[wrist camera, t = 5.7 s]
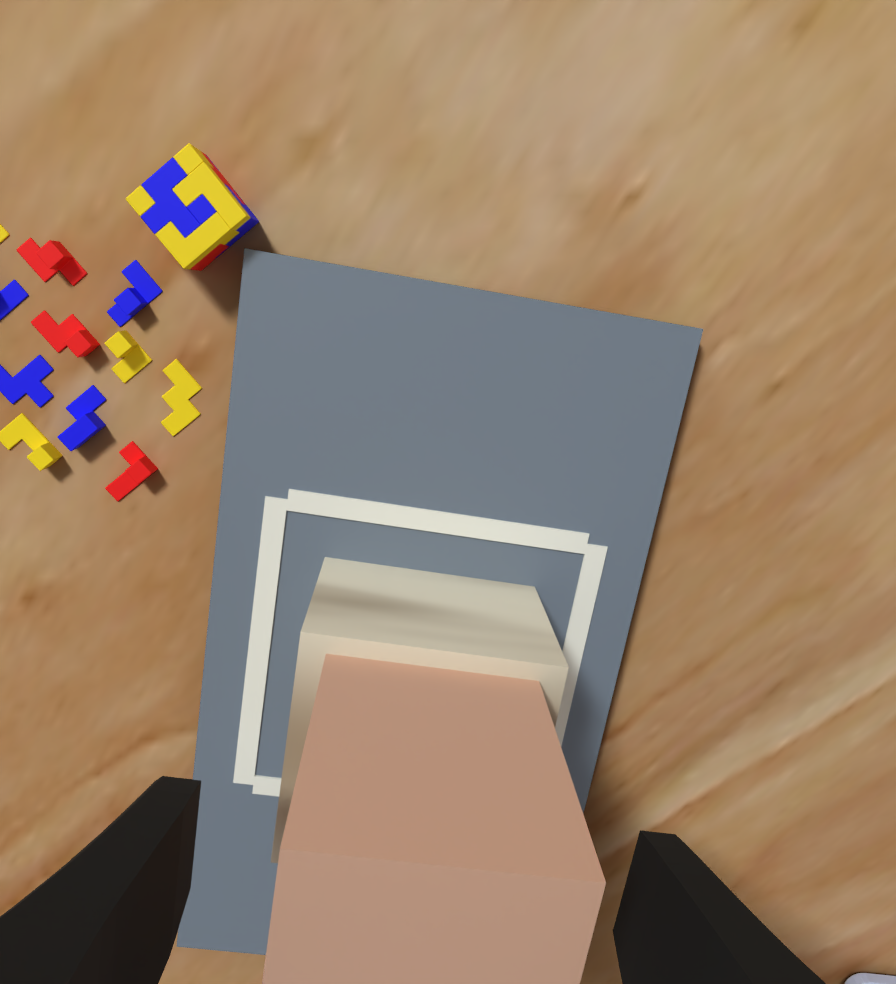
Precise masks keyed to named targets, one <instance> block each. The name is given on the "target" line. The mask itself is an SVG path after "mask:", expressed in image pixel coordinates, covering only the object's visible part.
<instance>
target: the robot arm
mask: <svg viewBox="0 0 896 984" xmlns="http://www.w3.org/2000/svg"><path fill="white" fill-rule="evenodd" d="M200 790H201V780H192V779H183V778H174V777H166V776H162V777H160V778H159V779H158V780H156V781H155V782H154V783H153V784H152V785H151V786H150V787H149V788H148V789H147V790H146V791H145V792H144V793H143V794H142V795H141V796H140V797H138V798H137V799H136V800H135V801H134V802H133V803H132V804H131V805H130V806H129V807H128V808H127V809H126V810H125V811H124V812H123V813H122V814H121V815H120V816H119V817H118V818H117V819H116V820H115V821H114V822H112V823H111V824H110V825H109V826H108V827H107V828H106V829H105V830H104V831H103V832H102V833H101V834H99V835H98V836H97V837H96V838H95V839H94V840H93V841H92V842H90V843H89V844H88V845H87V846H86V847H85V848H84V849H83V850H81V851H80V852H79V853H78V854H77V855H76V856H75V857H74V858H72V859H71V860H70V861H69V862H68V863H67V864H66V865H64V866H63V867H62V868H61V869H60V870H58V871H57V872H56V873H55V874H54V875H52V876H51V877H50V878H49V879H47V880H46V881H45V882H44V883H42V884H41V885H40V886H39V887H37V888H36V889H35V890H34V891H32V892H31V893H30V894H29V895H27V896H26V897H25V898H24V899H22V900H21V901H20V902H19V903H17V904H16V905H15V906H14V907H12V908H11V909H10V910H8V911H7V912H6V913H4V914H3V915H2V916H0V984H158V982H159V980H160V978H161V975H162V973H163V971H164V968H165V966H166V963H167V961H168V959H169V956H170V953H171V950H172V947H173V944H174V941H175V938H176V934H177V931H178V928H179V925H180V922H181V918H182V915H183V912H184V908H185V905H186V902H187V899H188V895H189V892H190V889H191V880H192V870H193V860H194V850H195V840H196V830H197V820H198V810H199V800H200ZM613 934H614V940H615V945H616V951H617V956H618V962H619V968H620V972H621V977H622V982H623V984H826V983H824V982H823V981H822V980H821V979H820V978H819V977H818V976H817V975H816V974H815V973H814V972H813V971H811V970H810V969H809V968H808V967H807V966H806V965H805V964H804V963H803V962H802V961H801V960H800V959H798V958H797V957H796V956H795V955H794V954H793V953H792V952H791V951H790V950H789V949H788V948H787V947H786V946H785V945H784V944H783V943H782V942H781V941H780V940H779V939H778V938H777V937H776V936H775V935H774V934H773V933H772V932H771V931H770V930H769V929H768V928H767V927H766V926H765V925H764V924H763V923H762V922H761V921H760V920H759V919H758V918H757V917H756V916H755V915H754V914H753V913H752V912H751V911H750V910H749V909H748V908H747V907H746V906H745V905H744V904H743V903H742V902H741V901H740V900H739V899H738V898H737V897H736V896H735V895H734V894H733V893H732V892H731V891H730V889H729V888H728V887H727V886H726V885H725V884H724V883H723V882H722V881H721V880H720V879H719V878H718V877H717V876H716V875H715V874H714V873H713V872H712V871H711V870H710V869H709V868H708V867H707V866H706V864H705V863H704V862H703V861H702V860H701V859H700V858H699V857H698V856H697V855H696V854H695V853H694V852H693V851H692V850H691V849H690V848H689V847H688V846H687V845H686V844H685V843H684V842H683V841H682V840H681V839H680V838H679V837H677V836H676V835H675V834H666V833H657V832H649V831H640V833H639V837H638V840H637V844H636V848H635V851H634V855H633V859H632V862H631V866H630V870H629V874H628V877H627V881H626V885H625V888H624V892H623V896H622V899H621V903H620V907H619V910H618V914H617V918H616V922H615V925H614V929H613ZM844 984H896V976H890V975H880V974H870V973H857V974H854V975H852V976H851V977H849V978H848V979H847V980H846V982H845V983H844Z"/></svg>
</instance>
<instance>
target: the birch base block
mask: <svg viewBox="0 0 896 984" xmlns="http://www.w3.org/2000/svg"><path fill="white" fill-rule="evenodd" d="M326 654H334V655H342V656H349V657H357V658H365V659H373V660H380V661H388V662H396V663H404V664H411V665H419V666H427V667H435V668H442V669H450V670H458V671H466V672H473V673H481V674H489V675H497V676H504V677H512V678H520V679H528V680H535V681H539V682H540V685H541V688H542V691H543V694H544V697H545V700H546V703H547V706H548V709H549V712H550V715H551V718H552V721H553V724H554V727H555V726H556V721H557V717H558V713H559V708H560V704H561V700H562V695H563V691H564V686H565V682H566V678H567V673H568V669H569V666H568V664H567V662H566V659H565V657H564V655H563V652H562V650H561V648H560V645H559V643H558V640H557V638H556V636H555V633H554V631H553V629H552V626H551V624H550V621H549V619H548V617H547V614H546V612H545V610H544V607H543V605H542V602H541V600H540V598H539V595H538V593H537V591H536V588H535V587H534V586H527V585H520V584H513V583H506V582H498V581H491V580H484V579H477V578H470V577H463V576H456V575H449V574H442V573H435V572H428V571H421V570H414V569H407V568H400V567H393V566H386V565H378V564H371V563H364V562H357V561H350V560H343V559H336V558H329V557H325V558H324V561H323V564H322V568H321V571H320V574H319V577H318V580H317V583H316V586H315V589H314V592H313V595H312V598H311V601H310V604H309V607H308V611H307V614H306V617H305V620H304V623H303V626H302V629H301V633H300V640H299V648H298V656H297V663H296V671H295V679H294V686H293V694H292V702H291V709H290V717H289V725H288V732H287V740H286V748H285V755H284V763H283V771H282V778H281V786H280V794H279V801H278V809H277V817H276V824H275V832H274V840H273V847H272V855H271V863H278V859H279V852H280V846H281V842H282V838H283V833H284V829H285V825H286V821H287V816H288V812H289V808H290V804H291V799H292V795H293V791H294V787H295V782H296V778H297V774H298V770H299V765H300V761H301V757H302V753H303V748H304V744H305V740H306V736H307V731H308V727H309V723H310V719H311V714H312V710H313V706H314V702H315V697H316V693H317V689H318V685H319V681H320V676H321V672H322V668H323V664H324V659H325V655H326Z"/></svg>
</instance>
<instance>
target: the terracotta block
mask: <svg viewBox="0 0 896 984" xmlns="http://www.w3.org/2000/svg"><path fill="white" fill-rule="evenodd" d="M605 885H606V881H605V878H604V875H603V872H602V869H601V866H600V863H599V860H598V857H597V854H596V851H595V848H594V845H593V842H592V839H591V836H590V833H589V830H588V827H587V824H586V821H585V818H584V815H583V812H582V809H581V806H580V803H579V800H578V797H577V794H576V791H575V788H574V785H573V782H572V779H571V775H570V772H569V769H568V766H567V763H566V760H565V757H564V754H563V751H562V748H561V745H560V742H559V739H558V736H557V733H556V730H555V727H554V724H553V721H552V718H551V715H550V712H549V709H548V706H547V703H546V700H545V697H544V694H543V691H542V688H541V685H540V682H539V681H535V680H528V679H520V678H512V677H504V676H497V675H489V674H481V673H473V672H466V671H458V670H450V669H442V668H435V667H427V666H419V665H411V664H404V663H396V662H388V661H380V660H373V659H365V658H357V657H349V656H342V655H334V654H326V655H325V659H324V664H323V668H322V672H321V676H320V681H319V685H318V689H317V693H316V697H315V702H314V706H313V710H312V714H311V719H310V723H309V727H308V731H307V736H306V740H305V744H304V748H303V753H302V757H301V761H300V765H299V770H298V774H297V778H296V782H295V787H294V791H293V795H292V799H291V804H290V808H289V812H288V816H287V821H286V825H285V829H284V833H283V838H282V842H281V846H280V852H279V859H278V867H277V874H276V882H275V890H274V897H273V905H272V912H271V920H270V928H269V935H268V943H267V950H266V958H265V966H264V973H263V981H262V984H580V981H581V977H582V973H583V970H584V966H585V962H586V958H587V954H588V950H589V947H590V943H591V939H592V935H593V931H594V927H595V924H596V920H597V916H598V912H599V908H600V904H601V901H602V897H603V893H604V889H605Z"/></svg>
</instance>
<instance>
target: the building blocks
mask: <svg viewBox="0 0 896 984" xmlns="http://www.w3.org/2000/svg"><path fill="white" fill-rule="evenodd" d="M126 200H127V202H128V203H129V204H130V205H131V206H132V208H133V209H134V210H135V211H136V212H137V213H138V215H139V216H141V218H142V219H143V221H144V222H145V223H146V224H147V225H148V227H149V228H150V229H151V230H152V231H153V233H154V234H155V235H156V236H157V237H158V239H159V240H160V241H161V242H162V243H163V245H164V246H165V247H166V248H167V249H168V251H169V252H170V253H171V254H172V255H173V257H174V258H175V259H176V260H177V261H178V263H179V264H180V265H181V266H182V267H183V269H190V270H199V271H202V270H203V269H204V268H205V267H206V266H207V265H209V264H210V263H211V262H212V261H213V260H215V259H216V258H217V257H218V256H219V255H220V254H222V253H223V252H224V251H225V250H226V249H228V248H229V247H230V246H231V245H232V244H233V243H235V242H236V241H237V240H238V239H239V238H241V237H242V236H243V235H244V234H245V233H246V232H248V231H249V230H250V229H251V228H252V227H254V226H255V225H256V224H257V223H258V222H259V221H258V219H257V218H256V217H255V216H254V214H253V213H252V212H251V211H250V209H249V208H248V207H247V206H246V204H245V203H244V202H243V201H242V199H241V198H240V197H239V196H238V194H237V193H236V192H235V190H234V189H233V188H232V187H231V185H230V184H229V183H228V182H227V180H226V179H225V178H224V177H223V175H222V174H221V173H220V172H219V170H218V169H217V168H216V167H215V165H214V164H213V163H212V162H211V160H210V159H209V158H208V156H207V155H205V154H204V153H202V152H201V151H200V150H198V149H197V148H195V147H194V146H192V145H191V144H187V145H186V146H185V147H184V148H183V149H182V150H181V151H179V152H178V153H177V154H176V155H175V156H174V157H173V158H171V159H170V160H169V161H168V162H167V163H166V164H164V165H163V166H162V167H161V168H160V169H159V170H158V171H156V172H155V173H154V174H153V175H152V176H151V177H150V178H148V179H147V180H146V181H145V182H144V183H143V184H142V186H141V185H140V186H139V187H138V188H137V189H136V190H135V191H134V192H132V193H131V194H130V195H129V196H128V197H127V198H126ZM8 236H9V233H8V232H7V231H6V230H5V229H4V228H3V226H2V225H1V224H0V243H1V242H2V241H3V240H5V239H6V238H7V237H8ZM17 251H18V253H19V254H20V255H21V256H22V257H23V258H24V259H25V260H26V262H27V263H28V264H29V265H30V266H31V267H32V268H33V269H34V271H35V272H36V273H37V274H38V275H39V276H40V277H41V278H42V280H43V281H44V282H46V281H47V280H48V279H50V278H51V277H52V276H53V275H54V274H55V273H57V272H58V271H59V270H60V272H61V273H62V274H63V275H64V276H65V277H66V278H67V280H68V281H69V282H70V283H71V284H72V285H73V286H74V285H75V284H76V283H77V282H79V281H80V280H81V279H82V278H83V277H84V276H85V275H87V272H86V271H85V270H84V269H83V268H82V267H81V266H80V264H79V263H78V262H77V261H76V260H75V259H74V258H73V256H72V255H71V254H70V253H69V252H68V251H67V249H66V248H65V247H64V246H63V245H62V244H61V243H60V242H58V241H51V240H49V241H48V242H47V243H46V244H45V245H44V246H43V247H41V248H40V247H39V246H38V245H37V244H36V243H35V242H34V241H33V239H32V238H29V239H28V240H27V241H26V242H25V243H24V244H22V245H21V246H20V247H19V248H18V249H17ZM122 273H123V274H124V276H125V277H126V278H127V279H128V280H129V281H130V283H131V284H132V285H133V286H134V288H127V289H126V290H125V291H123V292H122V293H121V294H120V295H119V296H117V297H116V298H115V299H114V301H115V302H116V304H115V305H114V306H113V307H112V308H111V309H109V310H108V311H107V313H108V314H109V315H110V316H111V317H112V319H113V320H114V321H115V322H116V323H117V324H118V325H119V327H121V326H123V325H124V324H125V323H126V322H127V321H128V320H130V319H131V318H132V317H133V316H134V315H136V314H137V313H138V312H139V311H140V310H141V309H143V308H144V307H145V306H146V305H147V304H148V303H150V302H151V301H152V300H153V299H154V298H156V297H157V296H158V295H159V294H160V293H161V292H162V290H161V289H160V287H159V286H158V285H157V284H156V283H155V281H154V280H153V279H152V278H151V277H150V276H149V274H148V273H147V272H146V271H145V270H144V269H143V267H142V266H141V265H140V264H139V263H138V262H137V260H135V261H133V262H132V263H131V264H130V265H129V266H128V267H126V268H125V269H124V270H123V271H122ZM28 296H29V295H28V293H27V292H26V291H25V290H24V289H23V288H22V287H21V286H20V285H19V283H18V282H17V281H16V280H13V281H12V282H11V283H10V284H8V285H7V286H6V287H5V288H4V289H3V290H2V291H0V320H1V319H2V318H4V317H5V316H6V315H7V314H8V313H9V312H10V311H12V310H13V309H14V308H15V307H16V306H17V305H18V304H20V303H21V302H22V301H23V300H24V299H25V298H27V297H28ZM31 323H32V324H33V326H34V327H35V328H36V329H37V330H38V331H39V332H40V333H41V334H42V336H43V337H44V338H45V339H46V340H47V341H48V342H49V343H50V344H51V345H52V347H53V348H54V349H55V350H56V351H57V352H58V353H59V352H60V351H62V350H63V349H64V348H65V347H66V346H68V347H69V349H70V350H71V351H72V352H73V353H74V354H75V355H76V356H77V357H83V356H87V355H88V354H89V353H91V352H92V351H93V350H94V349H95V348H97V347H98V346H99V345H100V344H99V343H98V342H97V340H96V339H95V338H94V337H93V336H92V335H91V334H90V333H89V331H88V330H87V329H86V328H85V327H84V326H83V325H82V324H81V322H80V321H79V320H78V319H77V318H76V317H75V316H74V315H73V314H72V315H70V316H69V317H68V318H67V319H66V320H65V321H63V322H62V323H61V324H60V325H58V324H57V323H56V322H55V321H54V320H53V319H52V318H51V316H50V315H49V314H48V313H47V312H46V311H43V312H42V313H41V314H40V315H38V316H37V317H36V318H35V319H34V320H33V321H31ZM105 345H106V346H107V347H108V348H109V349H110V350H111V351H112V352H113V354H114V355H115V356H116V357H117V358H122V357H124V358H123V359H122V360H121V361H120V362H119V363H117V364H116V365H115V366H114V367H113V368H111V369H112V370H113V371H114V373H115V374H116V375H117V376H118V377H119V378H120V379H121V380H122V381H123V383H126V382H127V381H128V380H129V379H131V378H132V377H133V376H134V375H135V374H137V373H138V372H139V371H140V370H141V369H143V368H144V367H145V366H146V365H147V364H149V363H150V362H151V361H152V359H151V358H150V357H149V356H148V355H147V354H146V352H145V351H144V350H143V349H142V348H141V347H140V346H139V344H138V343H137V342H136V341H135V340H134V339H133V338H132V336H131V335H130V334H129V333H128V332H127V331H126V330H125V331H118V332H117V333H116V334H114V335H113V336H112V337H111V338H110V339H108V340H107V341H106V342H105ZM53 370H54V369H53V368H52V367H51V366H50V365H49V364H48V363H47V361H46V360H45V359H44V358H43V357H42V356H41V355H39V356H37V357H36V358H35V359H34V360H33V361H32V362H30V363H29V364H28V365H27V366H26V367H25V368H23V369H22V370H21V371H20V372H19V373H18V374H16V375H15V376H14V377H12V376H11V375H10V374H9V373H8V372H7V371H6V370H5V369H4V368H3V367H2V366H1V365H0V392H1V393H2V394H3V395H4V396H5V397H6V398H7V399H8V400H9V401H10V402H11V403H12V404H14V403H15V402H16V401H18V400H19V399H20V398H21V397H22V396H23V395H25V394H26V393H27V394H28V395H29V396H30V398H31V399H32V400H33V401H34V402H35V403H36V404H37V405H38V406H39V407H41V406H43V405H44V404H45V403H46V402H47V401H49V400H50V399H51V398H52V397H53V396H54V395H53V394H52V393H51V392H50V391H49V390H48V389H47V388H46V387H45V386H44V385H43V384H42V382H41V380H42V379H43V378H45V377H46V376H47V375H48V374H49V373H51V372H52V371H53ZM163 372H164V373H165V374H166V375H167V376H168V377H169V379H170V380H171V381H172V382H173V383H174V384H175V386H174V387H172V388H171V389H170V390H169V391H168V392H166V393H165V394H164V395H163V396H162V398H163V399H164V400H165V401H166V402H167V403H168V405H169V406H170V407H171V408H172V409H173V410H174V412H173V413H171V414H170V415H169V416H168V417H166V418H165V419H164V420H163V421H162V422H161V423H162V425H163V426H164V427H165V428H166V429H167V430H168V431H169V432H170V434H171V435H172V436H175V435H176V434H177V433H178V432H180V431H181V430H182V429H183V428H184V427H186V426H187V425H188V424H189V423H191V422H192V421H193V420H194V419H196V418H197V417H198V416H199V415H200V412H199V411H198V410H197V409H196V408H195V407H194V406H193V404H192V403H191V402H190V401H189V399H190V398H191V397H192V396H193V395H195V394H196V393H197V392H198V391H200V390H201V389H202V387H201V386H200V385H199V384H198V383H197V382H196V381H195V379H194V378H193V377H192V376H191V375H190V374H189V372H188V371H187V370H186V369H185V368H184V367H183V366H182V364H181V363H180V362H179V361H178V360H177V359H176V360H174V361H173V362H172V363H171V364H170V365H168V366H167V367H166V368H165V369H163ZM104 401H106V398H105V397H104V396H103V395H102V394H101V393H100V392H99V391H98V389H97V388H96V387H95V386H94V385H92V386H91V387H90V388H89V389H88V390H86V391H85V392H84V393H83V394H82V395H80V396H79V397H78V398H77V399H76V400H74V401H73V402H72V403H71V404H70V405H68V406H67V407H66V409H67V410H68V411H69V412H70V413H71V414H72V415H73V416H74V418H75V419H76V420H77V421H76V422H75V423H73V424H72V425H71V426H70V427H69V428H67V429H66V430H65V431H64V432H63V433H61V434H60V435H59V436H58V438H59V439H60V441H61V442H62V443H63V444H64V445H65V446H66V447H67V448H68V449H69V450H70V451H73V450H75V449H77V448H79V447H80V446H81V445H83V444H84V443H85V442H86V441H87V440H89V439H90V438H91V437H92V436H94V435H95V434H96V433H98V432H99V431H100V430H101V429H102V428H104V427H105V426H106V424H105V423H104V422H103V421H102V420H101V419H100V418H99V417H98V416H97V415H96V414H95V412H94V410H95V409H96V408H97V407H98V406H100V405H101V404H102V403H103V402H104ZM22 439H23V440H24V442H25V443H26V444H27V445H28V446H29V447H30V448H31V449H32V450H33V452H32V453H31V454H29V455H28V456H27V458H28V459H29V460H30V461H31V462H32V463H33V464H34V465H35V466H36V467H37V468H38V469H39V470H40V471H41V470H43V469H46V468H48V467H50V466H51V465H52V464H53V463H55V462H56V461H57V460H58V459H60V458H61V457H62V454H61V453H60V452H59V451H58V450H57V449H56V448H55V447H54V446H53V445H52V444H51V443H50V442H49V441H48V440H47V438H46V437H45V436H44V435H43V434H42V433H41V432H40V431H39V430H38V429H37V428H36V427H35V426H34V425H33V424H32V423H31V422H30V420H29V419H28V418H27V417H26V416H25V415H24V414H23V413H21V414H20V415H19V416H18V417H17V418H15V419H14V420H13V421H12V422H11V423H10V424H8V425H7V426H6V427H5V428H4V429H2V430H1V431H0V442H1V443H2V444H3V445H4V446H5V447H6V448H7V449H8V450H10V449H11V448H12V447H13V446H14V445H16V444H17V443H18V442H19V441H20V440H22ZM119 453H120V454H121V455H122V456H123V457H124V459H125V460H126V461H127V462H128V463H129V464H130V465H131V466H130V467H129V468H127V469H126V470H125V472H124V473H123V474H122V475H120V476H119V477H118V478H117V479H115V480H114V481H113V482H112V483H111V484H109V485H108V486H107V487H106V488H105V489H106V490H107V491H108V492H109V493H110V494H111V495H112V496H113V497H114V498H115V499H116V500H117V501H119V500H121V499H122V498H123V497H124V496H125V495H127V494H128V493H129V492H130V491H132V490H133V489H134V488H135V487H137V486H138V485H139V484H140V483H141V482H143V481H144V480H145V479H146V478H148V477H149V476H150V475H151V474H153V473H154V472H155V471H156V470H158V468H157V467H156V466H155V465H154V464H153V463H152V462H151V460H150V459H149V458H148V457H147V456H146V455H145V454H144V453H143V452H142V451H141V449H140V448H139V447H138V446H137V445H136V444H135V443H134V442H133V441H132V442H131V443H130V444H128V445H127V446H126V447H125V448H124V449H122V450H121V451H120V452H119Z"/></svg>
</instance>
